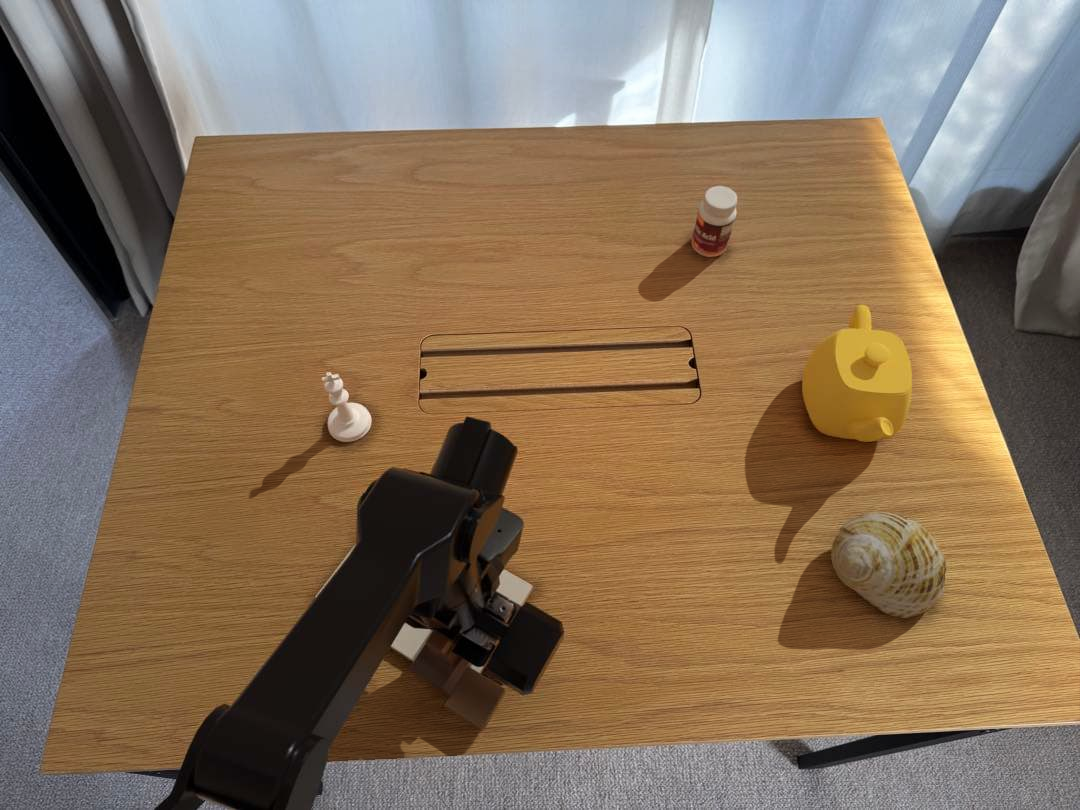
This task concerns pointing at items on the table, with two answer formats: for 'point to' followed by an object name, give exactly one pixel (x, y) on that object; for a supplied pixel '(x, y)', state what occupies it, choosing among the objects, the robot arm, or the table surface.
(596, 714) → the table surface
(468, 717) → the chip
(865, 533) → the seashell
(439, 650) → the brown stepped block
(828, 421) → the teapot
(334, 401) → the chess piece
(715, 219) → the pill bottle
